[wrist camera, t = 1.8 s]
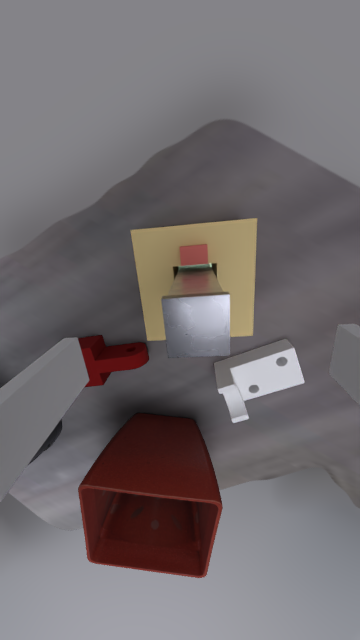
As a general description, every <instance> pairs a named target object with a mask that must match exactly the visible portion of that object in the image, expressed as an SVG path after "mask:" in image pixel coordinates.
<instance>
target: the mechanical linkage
mask: <svg viewBox="0 0 360 640" xmlns="http://www.w3.org/2000/svg"><path fill="white" fill-rule="evenodd" d="M78 341H79V344H80V348H81V351H82V355H83V359H84V362H85V366H86V369H87V373H88V376H89V382H88V383H87V384H86V386H85V387H89V386H99V385H104V383H105V381H106V380H107V378H108V377H109V375H110V373H111V372H114V371H122V370H131V369H136V368H139V367H141V366H143V365H144V364H146V363H147V362H148V360H149V356H148V352H147V348H146V345H145V344H144V343H142V342H138V343H131V344H123V345H115V346H108V347H106V346H105V343H104V339H103V336H102V335H98V336H91V337H84V338H78Z"/></svg>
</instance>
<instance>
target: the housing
mask: <svg viewBox="0 0 360 640" xmlns="http://www.w3.org/2000/svg"><path fill="white" fill-rule="evenodd" d="M256 235H257V218H252V219H242V220H231V221H221V222H210V223H200V224H189V225H179V226H168V227H158V228H148V229H137V230H131V237H132V243H133V250H134V256H135V263H136V269H137V276H138V282H139V289H140V295H141V302H142V308H143V315H144V321H145V328H146V334H147V341H155V340H166V336H165V328H164V319H163V311H162V303H161V298H162V296H167V295H168V293H169V291H170V288H171V286H172V284H173V282H174V279H175V277H176V275H177V273H178V271H179V270H178V266H186V265H199V264H212V270H213V272H214V274H215V276H216V278H217V280H218V282H219V284H220V286H221V288H222V290H223V292H229V294H230V337H236V336H253V316H254V289H255V262H256Z"/></svg>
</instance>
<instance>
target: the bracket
mask: <svg viewBox="0 0 360 640" xmlns="http://www.w3.org/2000/svg"><path fill="white" fill-rule="evenodd" d="M214 369H215V375H216V382H217V389H218V391H219V393H220V394H222V393H223V395H224V397H225V400H226V403H227V405H228V408H229V412H230V415H231V419H232V421H233V423H236V422H239V421H243V420H246V419H249V417H248V413H247V410H246V407H245V403H244V401H245V400H248V399H252V398H255V397H258V396H262V395H265V394H269V393H272V392H275V391H279V390H282V389H286V388H289V387H292V386H296V385H299V384H302V383H305V382H304V379H303V375H302V372H301V369H300V365H299V362H298V359H297V355H296V352H295V349H294V347H293V346H292V345H291V343H290V342H289V341H288V340H287V339H283V340H280V341H277V342H274V343H271V344H268V345H265V346H262V347H259V348H256V349H253V350H250V351H247V352H244V353H242V354H239V355H236V356H233V357H230V358H227V359H224V360H221V361H218V362H215V363H214Z"/></svg>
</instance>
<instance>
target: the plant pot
mask: <svg viewBox="0 0 360 640" xmlns="http://www.w3.org/2000/svg"><path fill="white" fill-rule="evenodd" d="M78 492H79V499H80V506H81V513H82V520H83V528H84V534H85V542H86V550H87V558H88V560H89V561H90V562H92V563H96V564H102V565H109V566H116V567H124V568H132V569H138V570H145V571H153V572H159V573H166V574H174V575H182V576H188V577H196V578H202V577H205V576H206V575H207V571H208V566H209V562H210V557H211V553H212V548H213V544H214V540H215V535H216V532H217V528H218V524H219V520H220V516H221V512H222V501H221V496H220V492H219V487H218V483H217V479H216V476H215V472H214V468H213V465H212V462H211V458H210V455H209V452H208V450H207V447H206V444H205V441H204V439H203V437H202V434H201V432H200V430H199V428H198V426H197V424H196V422H195V421H194V420H193V419H188V418H179V417H170V416H161V415H153V414H144V413H136V414H135V415H134V416H132V417H131V418H130V419H129V420H128V421H127V422H126V423H125V424H124V425H123V427H122V428H121V429H120V430H119V431H118V432H117V433H116V434H115V436H114V437H113V438H112V439H111V441H110V442H109V443H108V445H107V446H106V447H105V448H104V450H103V451H102V453H101V454H100V455H99V457H98V458H97V460H96V461H95V462H94V464H93V465H92V467H91V468H90V470H89V472H88V473H87V475H86V476H85V478H84V479H83V481H82V483H81V484H80V486H79V488H78Z"/></svg>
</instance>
